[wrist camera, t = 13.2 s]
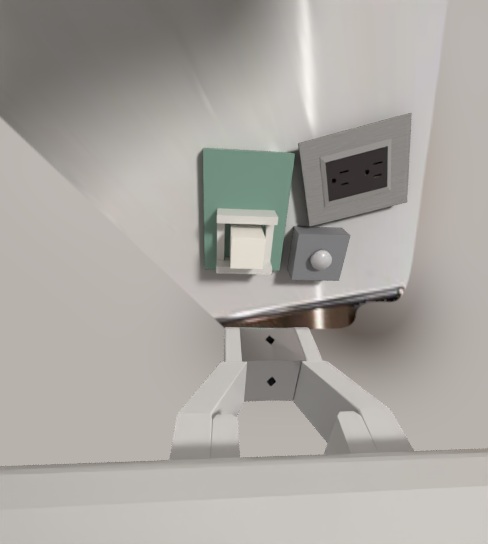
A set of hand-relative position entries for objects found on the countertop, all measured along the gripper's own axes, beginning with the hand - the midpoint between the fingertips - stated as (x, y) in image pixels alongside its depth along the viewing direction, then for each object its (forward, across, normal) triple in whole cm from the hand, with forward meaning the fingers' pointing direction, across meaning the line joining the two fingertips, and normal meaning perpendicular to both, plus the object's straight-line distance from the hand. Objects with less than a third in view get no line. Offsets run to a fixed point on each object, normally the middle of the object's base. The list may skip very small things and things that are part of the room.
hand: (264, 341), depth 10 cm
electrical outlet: (+30, -15, -2) cm, 33 cm away
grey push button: (+29, -12, +9) cm, 33 cm away
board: (+29, -2, +4) cm, 29 cm away
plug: (+27, -2, +7) cm, 28 cm away
